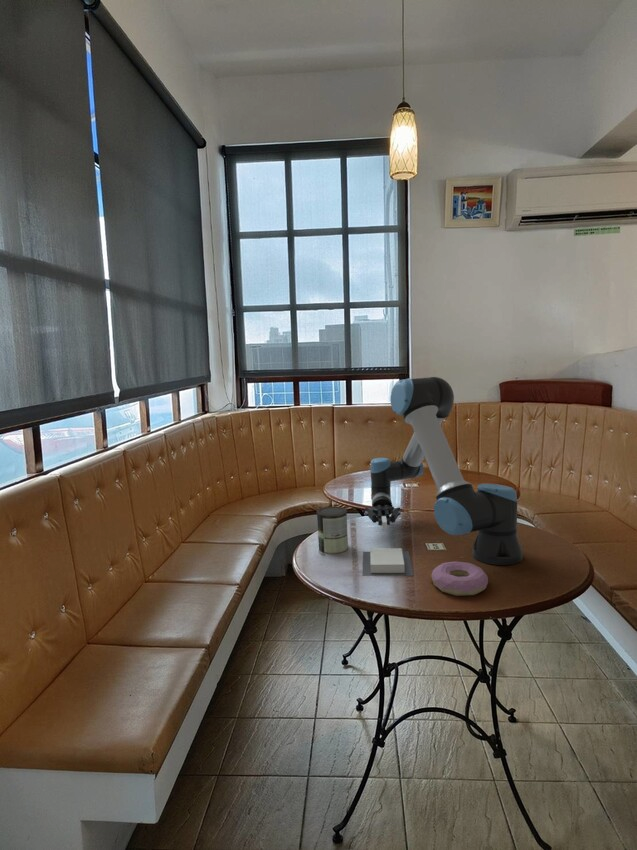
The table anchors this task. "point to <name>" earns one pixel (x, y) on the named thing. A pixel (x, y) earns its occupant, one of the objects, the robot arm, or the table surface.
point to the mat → (368, 573)
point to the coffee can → (332, 530)
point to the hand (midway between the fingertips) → (384, 526)
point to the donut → (459, 578)
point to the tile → (387, 560)
